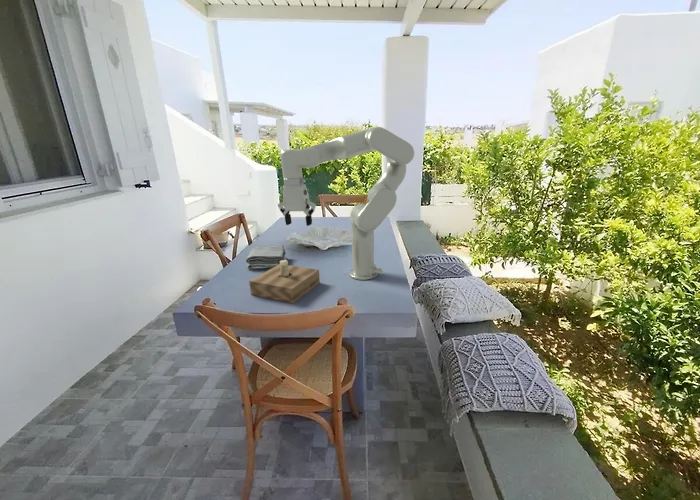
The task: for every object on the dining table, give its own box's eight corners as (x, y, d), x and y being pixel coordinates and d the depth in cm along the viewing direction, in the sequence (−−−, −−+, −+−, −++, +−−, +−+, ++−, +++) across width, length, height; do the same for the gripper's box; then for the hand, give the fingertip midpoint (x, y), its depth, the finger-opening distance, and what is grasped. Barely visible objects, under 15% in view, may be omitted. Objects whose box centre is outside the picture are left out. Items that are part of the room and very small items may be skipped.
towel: (251, 260, 168) (249, 246, 166) (287, 257, 170) (285, 243, 168) (246, 271, 154) (244, 255, 151) (285, 268, 156) (284, 252, 154)
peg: (291, 285, 134) (289, 260, 130) (287, 288, 131) (284, 263, 127) (285, 284, 135) (282, 259, 131) (280, 287, 132) (277, 262, 129)
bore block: (319, 282, 138) (318, 269, 136) (293, 303, 120) (291, 288, 119) (281, 276, 146) (280, 263, 144) (251, 294, 129) (249, 280, 127)
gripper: (317, 180, 127) (321, 222, 132) (280, 181, 133) (286, 221, 139) (308, 183, 120) (313, 227, 126) (269, 184, 127) (276, 226, 132)
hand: (298, 224), depth 132 cm, fingers open, 9 cm apart
